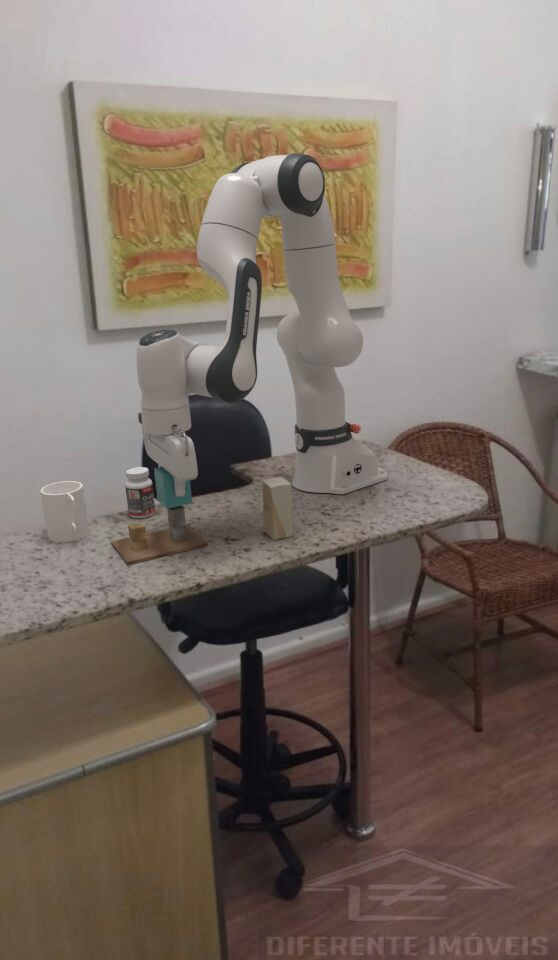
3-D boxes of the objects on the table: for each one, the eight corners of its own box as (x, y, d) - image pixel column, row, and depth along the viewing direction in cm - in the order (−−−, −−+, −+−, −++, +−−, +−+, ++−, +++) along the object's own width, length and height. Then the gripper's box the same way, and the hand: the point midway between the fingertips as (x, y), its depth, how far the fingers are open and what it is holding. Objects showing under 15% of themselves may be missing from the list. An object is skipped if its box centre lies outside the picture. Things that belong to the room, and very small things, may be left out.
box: (263, 531, 149) (260, 479, 145) (283, 527, 150) (281, 475, 147) (274, 540, 144) (271, 487, 141) (294, 536, 146) (292, 483, 142)
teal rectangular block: (182, 495, 147) (179, 463, 145) (192, 503, 143) (189, 470, 141) (157, 500, 145) (154, 468, 143) (166, 508, 141) (162, 475, 139)
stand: (188, 526, 153) (185, 494, 151) (208, 545, 144) (205, 511, 141) (111, 544, 146) (107, 511, 144) (127, 565, 137) (122, 530, 135)
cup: (60, 552, 144) (52, 503, 141) (43, 532, 154) (35, 486, 151) (101, 541, 148) (94, 493, 145) (81, 523, 158) (75, 478, 155)
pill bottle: (149, 519, 158) (144, 475, 155) (124, 518, 159) (119, 474, 156) (159, 509, 163) (154, 466, 160) (134, 508, 164) (129, 466, 161)
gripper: (202, 429, 131) (209, 503, 136) (165, 407, 149) (172, 473, 153) (168, 435, 129) (176, 510, 133) (134, 412, 146) (142, 478, 150)
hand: (173, 490), depth 143 cm, fingers closed on teal rectangular block, 5 cm apart
